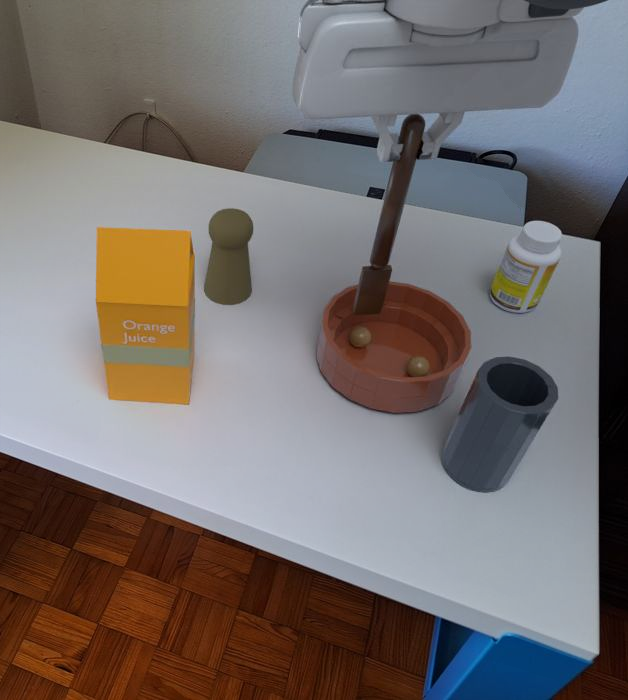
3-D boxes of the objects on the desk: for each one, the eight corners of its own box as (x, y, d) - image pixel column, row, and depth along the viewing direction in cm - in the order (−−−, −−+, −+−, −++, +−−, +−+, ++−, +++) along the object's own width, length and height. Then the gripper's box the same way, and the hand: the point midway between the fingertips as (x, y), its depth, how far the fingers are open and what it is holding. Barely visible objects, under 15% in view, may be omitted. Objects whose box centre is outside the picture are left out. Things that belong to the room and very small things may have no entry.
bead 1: (366, 336, 79) (369, 321, 77) (371, 351, 77) (375, 336, 75) (345, 337, 79) (348, 322, 77) (350, 352, 77) (353, 337, 75)
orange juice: (119, 348, 79) (102, 202, 65) (195, 353, 78) (195, 206, 64) (108, 400, 74) (87, 254, 59) (189, 406, 73) (188, 258, 59)
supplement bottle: (529, 285, 85) (561, 216, 77) (542, 316, 81) (577, 246, 73) (482, 283, 85) (510, 215, 78) (493, 314, 81) (523, 245, 74)
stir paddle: (377, 305, 71) (429, 108, 56) (381, 317, 70) (437, 119, 54) (350, 307, 71) (395, 110, 56) (354, 319, 70) (402, 121, 54)
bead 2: (422, 365, 75) (428, 350, 73) (429, 382, 74) (435, 367, 72) (401, 367, 75) (406, 351, 73) (407, 383, 73) (412, 368, 72)
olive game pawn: (217, 267, 89) (219, 195, 81) (260, 282, 87) (266, 209, 79) (195, 295, 85) (195, 222, 77) (238, 311, 83) (243, 237, 75)
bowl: (430, 312, 82) (442, 277, 78) (477, 411, 71) (494, 376, 67) (304, 319, 82) (309, 284, 78) (332, 420, 71) (340, 385, 67)
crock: (495, 436, 69) (538, 354, 60) (521, 490, 65) (572, 410, 56) (432, 439, 69) (466, 358, 60) (454, 494, 65) (494, 415, 56)
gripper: (311, 4, 45) (290, 184, 55) (616, -12, 46) (540, 171, 56) (294, -28, 50) (277, 144, 60) (572, -42, 50) (508, 132, 60)
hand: (405, 157), depth 58 cm, fingers closed on stir paddle, 2 cm apart
